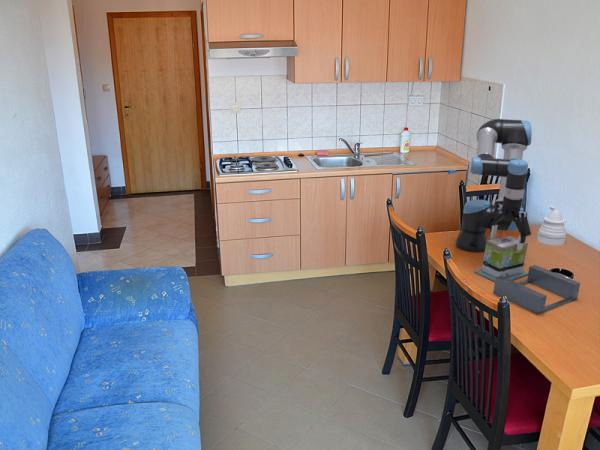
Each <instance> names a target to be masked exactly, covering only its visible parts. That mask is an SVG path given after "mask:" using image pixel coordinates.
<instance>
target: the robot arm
mask: <svg viewBox="0 0 600 450" xmlns="http://www.w3.org/2000/svg"><path fill="white" fill-rule="evenodd" d="M532 134H533V131H532V124H531V122H530V121H528V120H522V119H505V118H504V119H503V118H494V119H491V120H489V121H486V122H484V123H483V124H482V125H480V127H478V130H477V132H476V141H477V148H476V149H477V150H476V156H473V157H472V158H471V161H470V162H471V163H470V174H472V175H478V176H491V177H492V176H493V177H500V183H499V192H498V198H497V199H496V200H494V203H493V204H491V202H490V201H489V200H485V199H473V200H469V201H466V202H465V203H464V206H463V210H462V213H463V214H462V222H461V230H460V232H459V234H458V235H457V238H456V239H455V240H456V241H455V246H456V247H457V248H458V249H459V250H463V251H466V252H472V253H482V252H485V248H486V242H487V240H488V239H487V238H488V237H487V229H488V230H490V239H489V240H492V239H497V233H498V231H505V232H516V231H518V232H519V234H518V238H517V239H518V244H517V250H521V249H522V247H523V243H525V242H526V238H527V237H529V236H531V235H532V231H531V229H530V223H529V219H528V212H527V211H524V208H523V207H522V205H523V198H524V193H525V185H526V181H527V175H528V171H529V169H528V168H529V162H528V161H525V160H523V156H524V152H525V151H526V150H527V149H528V146H531V144H532ZM496 144H501V146H500V147H501V149H502V150H503V157H502V158H495V149H496V148H495V147H496Z"/></svg>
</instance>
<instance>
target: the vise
mask: <svg viewBox="0 0 600 450" xmlns="http://www.w3.org/2000/svg"><path fill="white" fill-rule="evenodd" d="M527 273H528V276H527V279H525V280H522V281H519V282H516V281H515V280H513V281H512V280H510V279H508V278H506V277H503V276H499V277H496V279H495V282H494V287H493V292H492V293H493V294H494V295H496V296H497V297H501V296H506V297H507V299H508V300H507V301H509V302H510V303H513V304H515V305H517V306H519V307H521V308H523V309H525V310H528V311H529V312H531V313H534V314H535V315H541V314H544V313H546V312H548V311H551V310H553V309H556V308H558V307H560V306H563V305H565V304H568V303H571V302H573V301H576V300H577V299H578V296H579V291H580V286H581V282H578V281H576V280H575V279H573V278H570V277H568V276H567V275H565V274H561V273H559V272H557V271H556V272H553V271H551V270H550V269H549V270H548V269H547V268H543V267H541V266H539V265H536V264H533V265H530V266H529V268H528V272H527ZM528 284H532V285H534V286H536V287H539V288H541V289H543V290H545V291H548V292H550V293H552V294H554V295H556V296H559V297H561V298H564V299H560V300H558V301H556V302H553V303H551V304H547V305H546V302H547V295H546V294H543V293H541V292H539V291H537V290H535V289H533V288H531V287H528V286H527V285H528ZM501 298H502V297H501Z"/></svg>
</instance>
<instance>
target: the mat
mask: <svg viewBox="0 0 600 450" xmlns="http://www.w3.org/2000/svg"><path fill="white" fill-rule="evenodd" d="M473 273H474V274H476V275H478V276H479V277H483V278H484V279H486V280H487V279H488V280H489V281H492V282H493V283H495V279H496V278H495V277H493V276H491V275H489V274H487V273H485V272H483V271H482V268H480V269H477V270H474V271H473ZM528 273H529V272H527V271H524V270H523V271H522V273H520V274H516V275H511V276H508V277H506V278H508V279H510V280H512V281H515V280H519V279H522V278H524V277H528Z"/></svg>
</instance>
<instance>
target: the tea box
mask: <svg viewBox="0 0 600 450" xmlns="http://www.w3.org/2000/svg"><path fill="white" fill-rule="evenodd" d="M517 244H518V238H517V237H516V236H512V235H508V236H507V235H506V236H503V237H498V238H497V237H496V239H492V240H490V239H487V242H486V248H485V251H484V255H483V260H482V261H483V262H482V266H481V269H482V271H483V272H485V273H487V274H489V275H491V276H493V277H495V278H496V277H499V276H503V277H508V276H511V275H516V274H520V273H522V271H524V267H525V266H524V265H525V261H526V254H527V250H528V244H529V243H528V242H526V241H525V243H523V247H522V249H521V250H517Z"/></svg>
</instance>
